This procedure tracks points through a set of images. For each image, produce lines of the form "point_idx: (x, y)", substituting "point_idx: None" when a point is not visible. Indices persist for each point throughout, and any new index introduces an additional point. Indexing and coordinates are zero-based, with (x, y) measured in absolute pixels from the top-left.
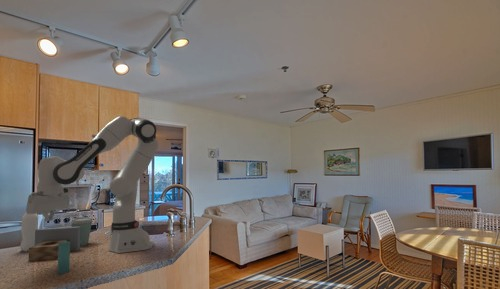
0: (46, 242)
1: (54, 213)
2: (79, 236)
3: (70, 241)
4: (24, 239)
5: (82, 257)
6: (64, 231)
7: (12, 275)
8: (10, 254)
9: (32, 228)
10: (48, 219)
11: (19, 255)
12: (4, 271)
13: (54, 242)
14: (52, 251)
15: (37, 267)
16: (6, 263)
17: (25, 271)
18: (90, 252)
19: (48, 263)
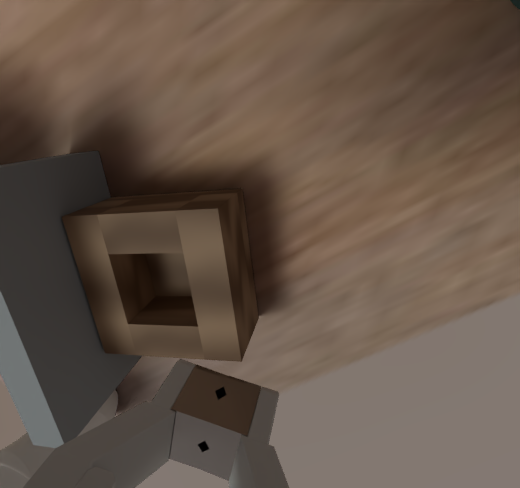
0: (129, 323)
1: (100, 435)
2: (7, 164)
3: (67, 205)
4: None
5: (227, 27)
6: (20, 272)
7: (478, 279)
8: None
9: (22, 477)
10: (264, 403)
11: None
12: (392, 346)
13: (119, 281)
14: (233, 227)
15: (373, 220)
16: None
17: (428, 248)
18: (126, 32)
19: (312, 196)
